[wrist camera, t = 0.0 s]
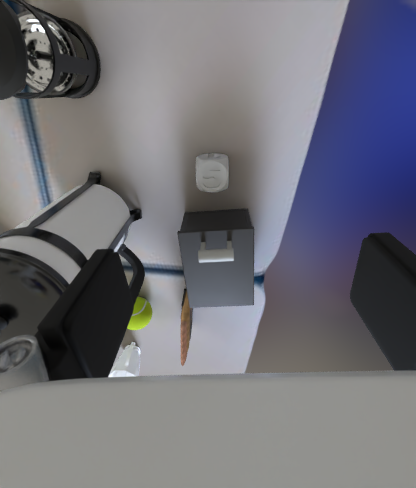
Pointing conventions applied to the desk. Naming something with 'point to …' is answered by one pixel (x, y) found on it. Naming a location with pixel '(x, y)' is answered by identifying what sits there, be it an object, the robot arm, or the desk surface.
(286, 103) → the desk surface
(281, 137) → the desk surface
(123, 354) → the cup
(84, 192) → the coffee press
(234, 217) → the hinged black storage box
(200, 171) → the die
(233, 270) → the lid
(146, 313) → the tennis ball
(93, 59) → the french press
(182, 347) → the ammunition clip
